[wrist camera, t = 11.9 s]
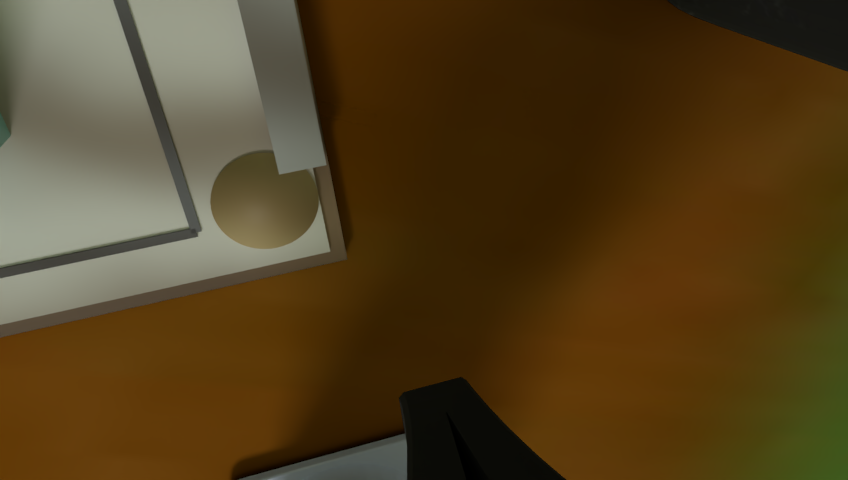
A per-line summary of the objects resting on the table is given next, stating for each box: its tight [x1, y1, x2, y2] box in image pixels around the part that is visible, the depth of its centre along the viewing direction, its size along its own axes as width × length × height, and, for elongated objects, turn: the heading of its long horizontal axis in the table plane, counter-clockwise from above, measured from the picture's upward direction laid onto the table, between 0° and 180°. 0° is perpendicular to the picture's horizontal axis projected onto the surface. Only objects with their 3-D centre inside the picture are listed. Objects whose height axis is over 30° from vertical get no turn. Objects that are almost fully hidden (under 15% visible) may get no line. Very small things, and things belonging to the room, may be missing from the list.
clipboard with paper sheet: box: [0, 0, 347, 337], centre depth 17 cm, size 12×15×1 cm
